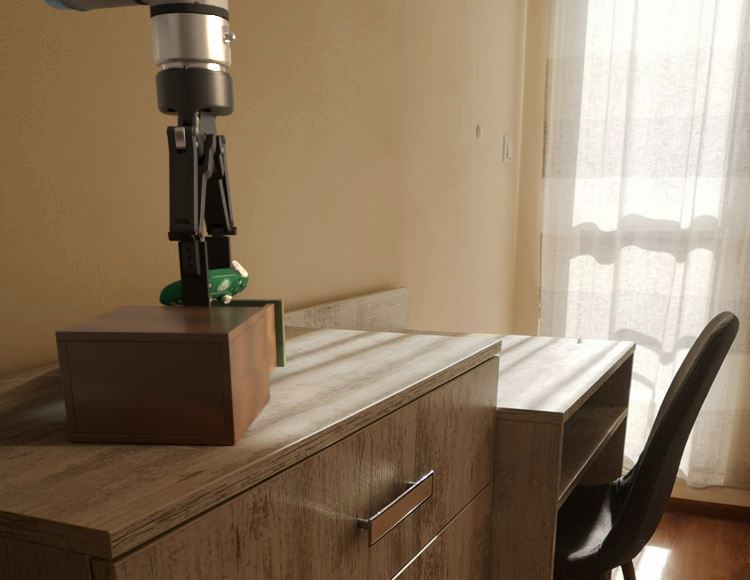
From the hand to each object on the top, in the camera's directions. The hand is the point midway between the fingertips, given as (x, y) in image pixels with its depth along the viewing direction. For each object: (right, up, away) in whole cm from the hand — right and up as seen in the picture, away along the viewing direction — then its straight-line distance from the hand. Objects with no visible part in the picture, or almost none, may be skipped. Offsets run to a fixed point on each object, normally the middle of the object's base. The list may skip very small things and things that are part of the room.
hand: (209, 301), depth 89 cm
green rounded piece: (0, 0, 0) cm, 1 cm away
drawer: (0, -7, +5) cm, 9 cm away
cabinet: (-1, -14, -10) cm, 17 cm away
